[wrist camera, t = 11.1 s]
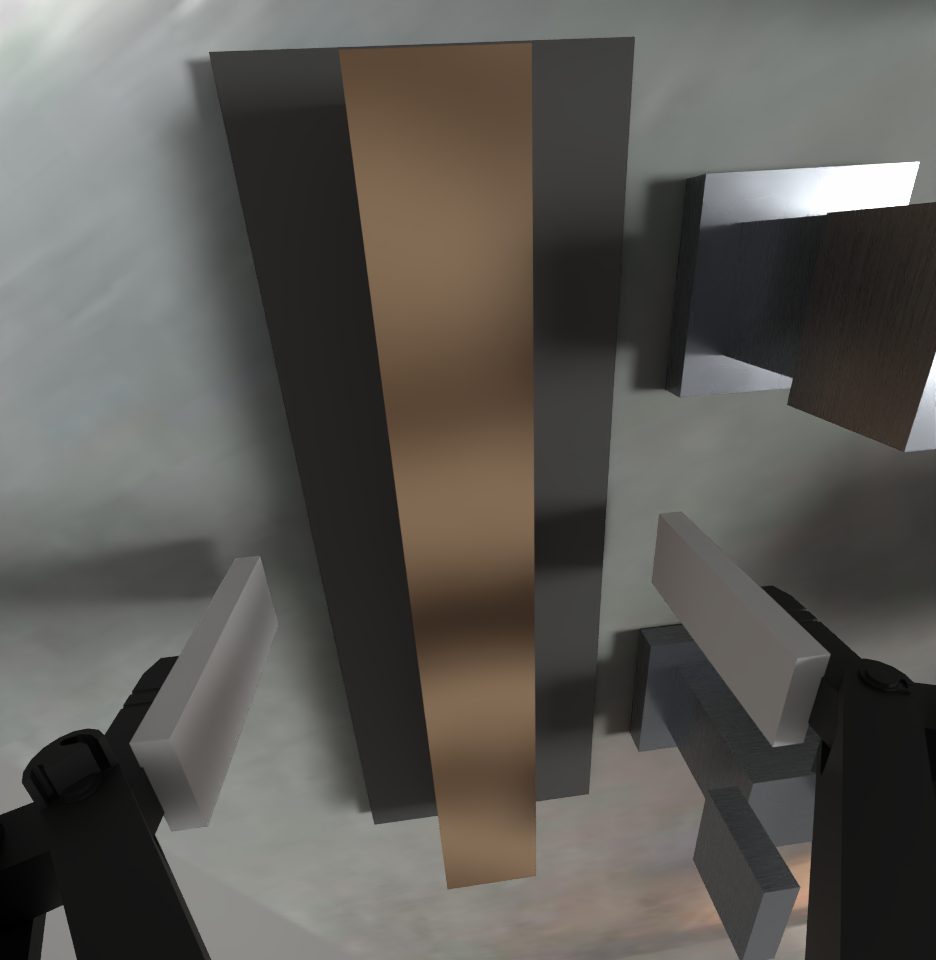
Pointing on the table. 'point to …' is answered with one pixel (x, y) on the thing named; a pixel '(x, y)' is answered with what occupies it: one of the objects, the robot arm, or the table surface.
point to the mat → (360, 401)
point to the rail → (459, 413)
